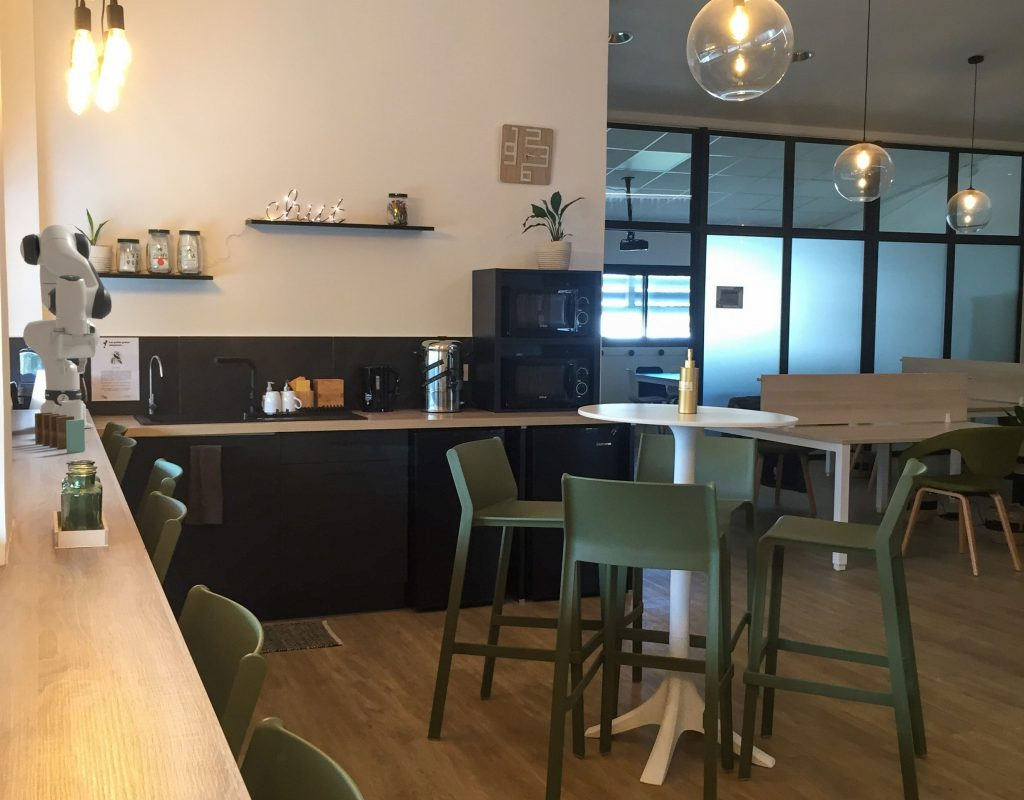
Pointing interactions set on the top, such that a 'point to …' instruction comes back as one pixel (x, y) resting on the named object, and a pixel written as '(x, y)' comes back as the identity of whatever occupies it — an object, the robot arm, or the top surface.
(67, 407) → the mug
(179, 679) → the top surface
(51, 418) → the domino
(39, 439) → the domino
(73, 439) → the domino
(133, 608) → the top surface
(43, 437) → the domino
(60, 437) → the domino
